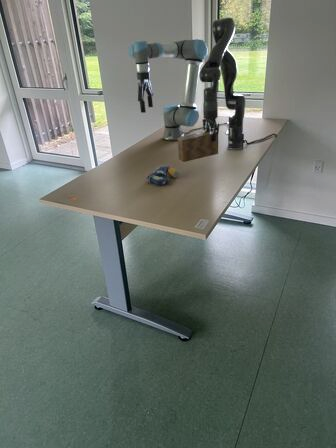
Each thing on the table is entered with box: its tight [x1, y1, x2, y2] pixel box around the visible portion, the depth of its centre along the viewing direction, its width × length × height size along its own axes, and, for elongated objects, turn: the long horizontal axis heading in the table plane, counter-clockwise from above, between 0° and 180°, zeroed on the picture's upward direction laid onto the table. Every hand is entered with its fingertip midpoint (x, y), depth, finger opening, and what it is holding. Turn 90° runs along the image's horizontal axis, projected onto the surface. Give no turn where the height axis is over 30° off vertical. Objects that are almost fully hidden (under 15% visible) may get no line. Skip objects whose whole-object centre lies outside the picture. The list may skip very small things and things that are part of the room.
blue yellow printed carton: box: [146, 164, 180, 186], centre depth 185 cm, size 21×4×15 cm
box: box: [177, 131, 219, 163], centre depth 183 cm, size 22×6×12 cm, turn 114°
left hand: (147, 109), depth 203 cm, fingers open, 13 cm apart
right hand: (210, 139), depth 185 cm, fingers closed on box, 5 cm apart
